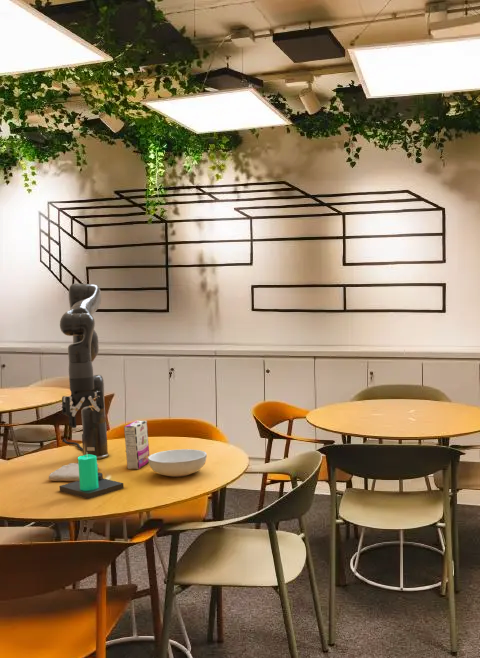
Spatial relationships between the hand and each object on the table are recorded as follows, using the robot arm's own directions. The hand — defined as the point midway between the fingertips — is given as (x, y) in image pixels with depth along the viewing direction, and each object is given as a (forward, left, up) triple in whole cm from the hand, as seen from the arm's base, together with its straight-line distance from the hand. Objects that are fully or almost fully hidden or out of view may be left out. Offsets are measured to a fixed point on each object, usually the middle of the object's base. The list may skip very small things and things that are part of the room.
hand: (84, 425), depth 219 cm
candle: (0, 0, -21) cm, 21 cm away
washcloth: (-24, +11, -23) cm, 35 cm away
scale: (-3, +3, -23) cm, 23 cm away
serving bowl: (+7, +33, -23) cm, 41 cm away
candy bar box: (-15, +33, -23) cm, 43 cm away
